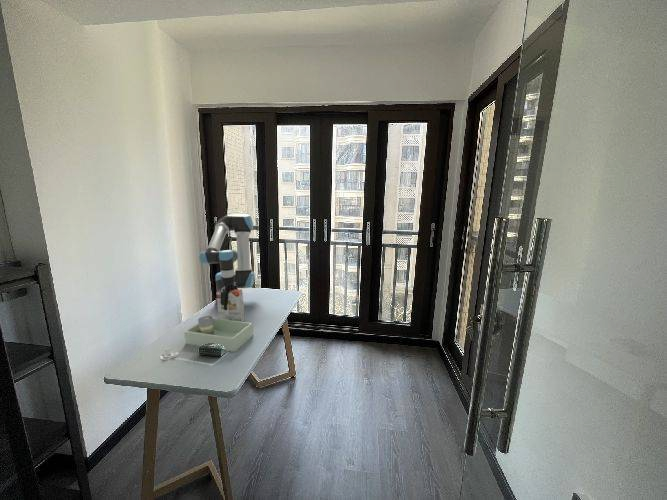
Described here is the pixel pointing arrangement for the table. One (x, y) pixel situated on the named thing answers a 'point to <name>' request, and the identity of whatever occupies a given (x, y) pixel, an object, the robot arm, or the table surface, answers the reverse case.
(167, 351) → the white curved piece
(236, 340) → the tote
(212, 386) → the table surface
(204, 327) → the can
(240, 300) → the cracker box
